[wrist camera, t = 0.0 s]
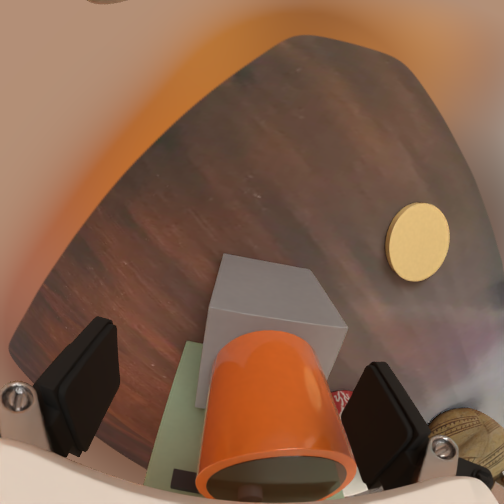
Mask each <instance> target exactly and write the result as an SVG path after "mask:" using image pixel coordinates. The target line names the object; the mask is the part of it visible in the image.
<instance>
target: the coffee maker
mask: <svg viewBox="0 0 504 504" xmlns="http://www.w3.org/2000/svg"><path fill="white" fill-rule="evenodd" d="M262 330H276V331H283V332H287V333H291V334H294V335H296V336H298V337H300V338H302V339H303V340H305V341H306V342H307V343H308V344H310V345H311V347H312V348H313V349H314V350H315V352H316V354H317V356H318V359H319V361H320V364H321V367H322V369H323V372H324V375H325V378H326V380H327V378H328V376H329V374H330V372H331V369H332V367H333V365H334V362H335V360H336V358H337V355H338V353H339V350H340V348H341V345H342V343H343V340H344V338H345V335H346V333H347V330H348V327H347V325H346V324H345V322H344V320H343V319H342V317H341V316H340V314H339V313H338V311H337V309H336V308H335V306H334V305H333V303H332V302H331V300H330V299H329V297H328V296H327V294H326V293H325V291H324V289H323V288H322V286H321V285H320V283H319V282H318V280H317V279H316V277H315V276H314V274H313V273H312V271H311V270H310V269H305V268H299V267H294V266H288V265H283V264H278V263H272V262H267V261H262V260H256V259H251V258H246V257H240V256H235V255H230V254H225V253H224V254H223V257H222V261H221V264H220V268H219V271H218V275H217V278H216V282H215V286H214V289H213V293H212V297H211V300H210V304H209V308H208V315H207V321H206V328H205V334H204V341H203V344H201V343H196V342H191V341H186V344H185V347H184V350H183V353H182V356H181V360H180V363H179V366H178V369H177V372H176V375H175V378H174V381H173V384H172V388H171V391H170V394H169V397H168V401H167V404H166V407H165V410H164V414H163V417H162V420H161V424H160V427H159V430H158V434H157V437H156V441H155V444H154V448H153V451H152V455H151V458H150V462H149V465H148V469H147V472H146V476H145V480H144V484H143V485H144V486H148V487H152V488H156V489H160V490H164V491H169V492H173V493H178V494H184V495H189V496H195V497H202V498H205V497H204V496H203V495H202V494H201V493H200V492H199V491H198V490H197V487H196V485H195V478H196V471H197V463H198V456H199V449H200V442H201V435H202V428H203V421H204V415H205V408H206V401H207V395H208V388H209V382H210V376H211V369H212V365H213V361H214V359H215V357H216V355H217V354H218V352H219V351H220V350H221V349H222V348H223V347H224V346H225V345H226V344H228V343H229V342H230V341H232V340H233V339H235V338H237V337H239V336H241V335H244V334H247V333H251V332H255V331H262ZM342 498H344V494H343V490H341V491H340V492H338V493H337V494H335V495H333V496H331V497H329V498H327V499H325V500H334V499H342ZM325 500H323V501H325Z"/></svg>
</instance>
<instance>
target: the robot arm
mask: <svg viewBox="0 0 504 504" xmlns="http://www.w3.org/2000/svg"><path fill="white" fill-rule="evenodd" d="M119 385H120V374H119V362H118V347H117V328H116V326H115V325H113V323H112V321H111V320H109V319H106V318H102V317H99V316H97V317H95V318H94V319H93V320H92V321H91V323H90V324H89V325H88V326H87V327H86V328H85V329H84V330H83V331H82V332H81V333H80V334H79V335H78V337H77V338H76V339H75V340H74V341H73V342H72V343H71V344H69V345H68V346H67V347H66V348H65V349H64V350H63V351H62V352H61V353H60V354H59V356H58V357H57V358H56V359H55V360H54V361H53V362H52V364H51V365H50V366H49V367H48V368H47V369H46V370H45V372H44V373H43V374H42V375H41V376H40V378H39V379H38V380H37V381H36V382H35V384H34V385H33V386H31V385H29V384H28V383H25V382H22V381H13V382H10V383H7V384H5V385H4V386H3V387H2V388H1V389H0V504H504V487H503V486H502V485H500V484H499V483H497V482H496V481H495V482H494V483H493V476H492V474H491V472H490V470H489V469H487V468H485V467H483V466H481V465H478V464H475V463H473V462H470V461H468V460H465V459H463V458H460V457H459V449H458V446H457V444H456V443H455V442H454V441H453V440H452V439H451V438H449V437H447V436H444V435H436V436H433V437H432V438H431V439H429V437H428V436H429V434H430V433H431V430H430V428H429V427H428V425H427V424H426V422H425V420H424V419H423V417H422V416H421V414H420V413H419V411H418V409H417V408H416V406H415V405H414V403H413V402H412V400H411V399H410V397H409V396H408V394H407V392H406V391H405V389H404V388H403V386H402V385H401V383H400V382H399V380H398V379H397V377H396V376H395V374H394V373H393V371H392V370H391V368H390V367H389V366H388V364H387V363H386V362H372V363H370V365H368V366H366V368H365V370H364V372H363V374H362V376H361V378H360V380H359V382H358V384H357V386H356V387H355V389H354V391H353V393H352V395H351V397H350V399H349V400H348V402H347V404H346V406H345V408H344V409H343V411H342V414H341V421H342V424H343V427H344V430H345V433H346V435H347V438H348V441H349V444H350V447H351V450H352V453H353V456H354V459H355V461H356V464H357V467H358V470H359V473H360V476H361V479H362V482H363V483H365V484H366V485H367V488H368V490H370V489H375V488H380V487H381V486H382V487H383V491H382V492H377V493H372V494H367V495H361V496H355V497H349V498H342V499H334V500H325V501H313V502H296V503H254V502H237V501H226V500H217V499H209V498H202V497H195V496H189V495H184V494H178V493H173V492H169V491H164V490H160V489H156V488H152V487H148V486H144V485H140V484H137V483H134V482H130V481H127V480H124V479H120V478H117V477H114V476H111V475H108V474H105V473H103V472H100V471H97V470H95V469H92V468H89V467H87V466H84V465H82V464H79V463H77V462H75V461H72V460H70V459H67V458H65V457H67V456H68V454H69V453H71V454H73V455H75V456H77V457H80V455H81V453H82V451H84V452H86V451H87V450H88V448H89V446H90V444H91V442H92V440H93V438H94V436H95V434H96V432H97V430H98V428H99V426H100V424H101V422H102V420H103V418H104V416H105V414H106V412H107V410H108V408H109V406H110V404H111V402H112V400H113V398H114V396H115V394H116V392H117V390H118V388H119Z"/></svg>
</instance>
